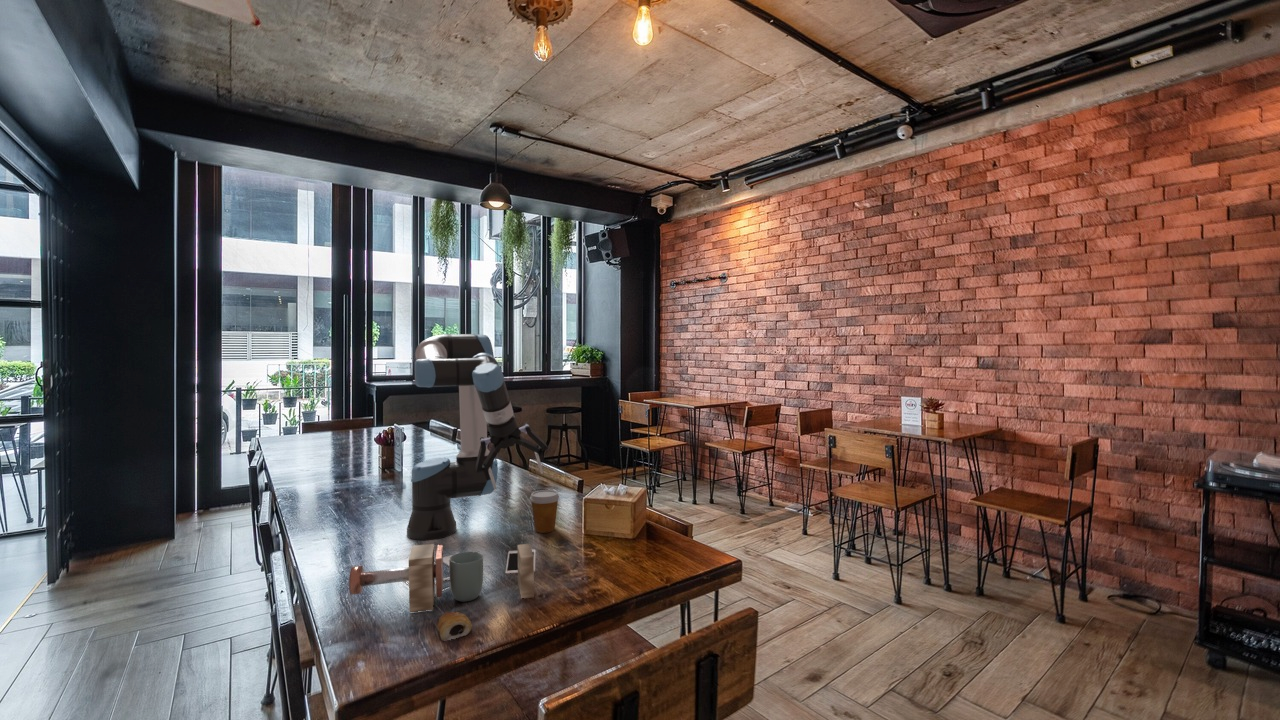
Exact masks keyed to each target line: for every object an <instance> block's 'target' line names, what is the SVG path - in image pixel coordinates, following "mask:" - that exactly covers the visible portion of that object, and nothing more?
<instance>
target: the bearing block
mask: <svg viewBox="0 0 1280 720" xmlns="http://www.w3.org/2000/svg"><path fill="white" fill-rule="evenodd" d="M434 560H435V543H428V544H427V543H426V544H418V545H412V546H411V549H410V552H409V557H408V567H409V585H408V593H409V594H408V597H409V606H408V607H409V613H410V612H418V611H426V610H432V609H433V610H434V607H433V605H434V604H435V598H436V597H435V595H436V584H435V581H436V578H433V564H435V563H434ZM434 597H435V598H434Z"/></svg>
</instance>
